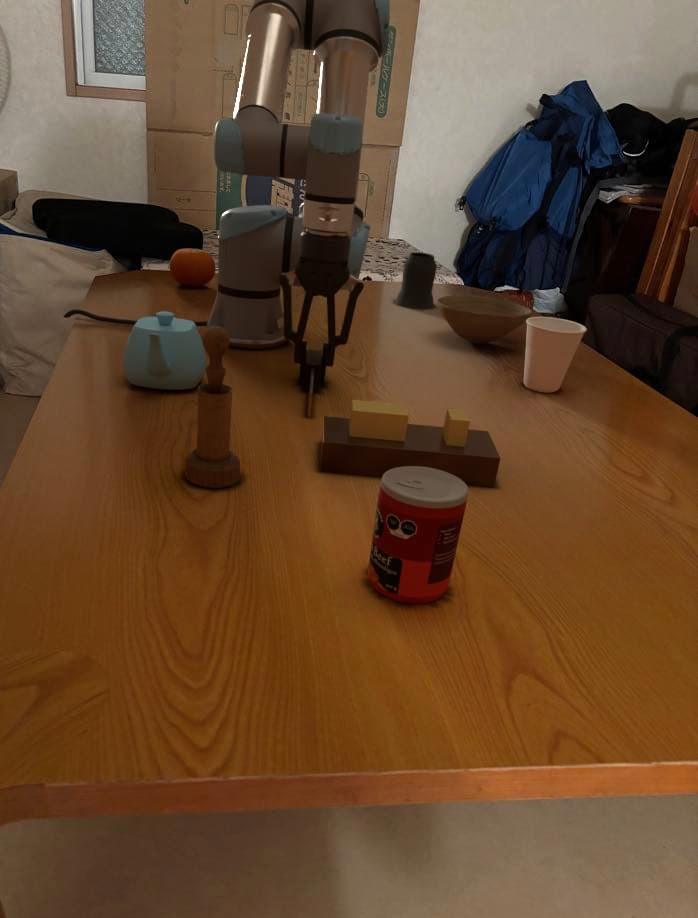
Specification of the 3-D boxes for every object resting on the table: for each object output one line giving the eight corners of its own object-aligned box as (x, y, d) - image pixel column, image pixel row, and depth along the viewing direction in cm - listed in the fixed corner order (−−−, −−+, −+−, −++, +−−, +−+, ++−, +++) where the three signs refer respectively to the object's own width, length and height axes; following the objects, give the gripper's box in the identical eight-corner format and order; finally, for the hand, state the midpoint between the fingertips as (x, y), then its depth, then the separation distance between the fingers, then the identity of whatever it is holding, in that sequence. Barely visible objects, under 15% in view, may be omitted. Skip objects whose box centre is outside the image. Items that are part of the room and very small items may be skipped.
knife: (317, 417, 114) (320, 387, 111) (299, 416, 114) (302, 386, 111) (319, 377, 130) (322, 350, 128) (304, 376, 130) (306, 349, 128)
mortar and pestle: (247, 472, 95) (255, 326, 86) (227, 493, 90) (232, 339, 81) (198, 461, 97) (201, 317, 88) (175, 481, 92) (175, 329, 83)
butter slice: (445, 445, 98) (450, 419, 96) (442, 433, 101) (447, 408, 99) (464, 447, 98) (470, 421, 96) (460, 435, 101) (465, 409, 99)
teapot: (107, 326, 108) (134, 297, 124) (110, 399, 113) (135, 362, 129) (197, 334, 108) (212, 304, 124) (196, 406, 114) (211, 369, 129)
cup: (572, 400, 130) (590, 335, 125) (513, 392, 131) (528, 327, 126) (566, 382, 139) (583, 321, 133) (510, 375, 140) (524, 313, 134)
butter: (349, 436, 98) (352, 410, 96) (348, 425, 101) (352, 399, 99) (404, 441, 98) (408, 415, 96) (402, 429, 101) (406, 404, 99)
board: (319, 471, 97) (323, 441, 95) (321, 443, 105) (324, 415, 103) (494, 487, 97) (500, 458, 95) (482, 458, 105) (488, 431, 103)
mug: (434, 310, 180) (443, 260, 174) (395, 306, 180) (402, 256, 175) (431, 299, 190) (439, 251, 185) (394, 295, 191) (401, 247, 185)
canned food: (360, 562, 79) (374, 463, 73) (436, 563, 80) (456, 466, 74) (373, 605, 72) (390, 500, 67) (456, 606, 73) (479, 503, 68)
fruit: (163, 286, 179) (163, 250, 175) (176, 278, 188) (177, 243, 184) (208, 292, 178) (209, 255, 174) (219, 283, 187) (220, 248, 183)
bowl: (465, 326, 169) (472, 289, 165) (540, 348, 158) (549, 308, 154) (413, 337, 157) (419, 297, 153) (490, 362, 146) (499, 319, 142)
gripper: (271, 230, 112) (261, 386, 124) (380, 240, 112) (359, 395, 124) (275, 223, 119) (265, 372, 130) (377, 233, 119) (358, 381, 130)
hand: (311, 383), depth 127 cm, fingers open, 3 cm apart
